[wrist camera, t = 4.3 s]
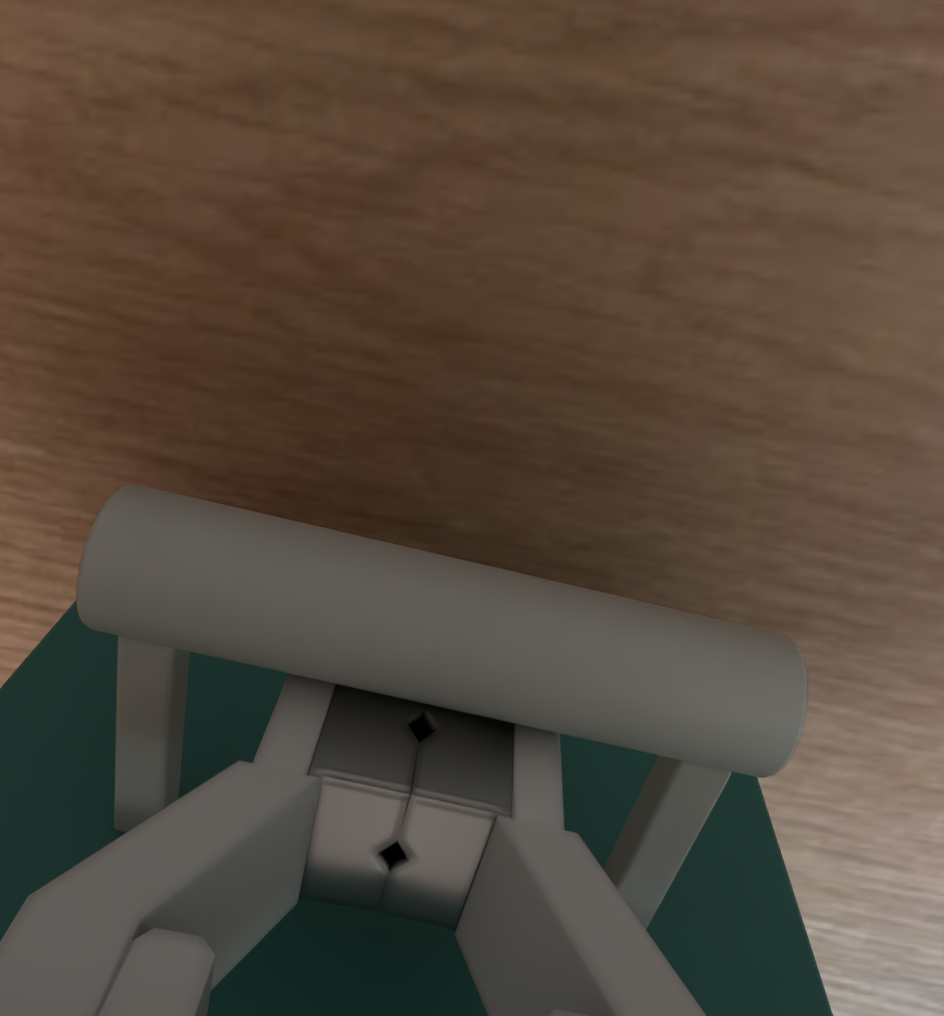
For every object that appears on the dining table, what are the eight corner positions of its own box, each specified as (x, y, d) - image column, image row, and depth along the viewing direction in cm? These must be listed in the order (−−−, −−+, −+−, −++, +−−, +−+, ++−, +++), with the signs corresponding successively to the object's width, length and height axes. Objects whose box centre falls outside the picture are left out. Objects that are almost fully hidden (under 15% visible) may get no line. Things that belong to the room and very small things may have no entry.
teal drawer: (112, 305, 12) (-456, 624, 5) (846, 484, 12) (1228, 985, 6) (102, 1015, 21) (-104, 1472, 14) (527, 1099, 22) (526, 1576, 15)
